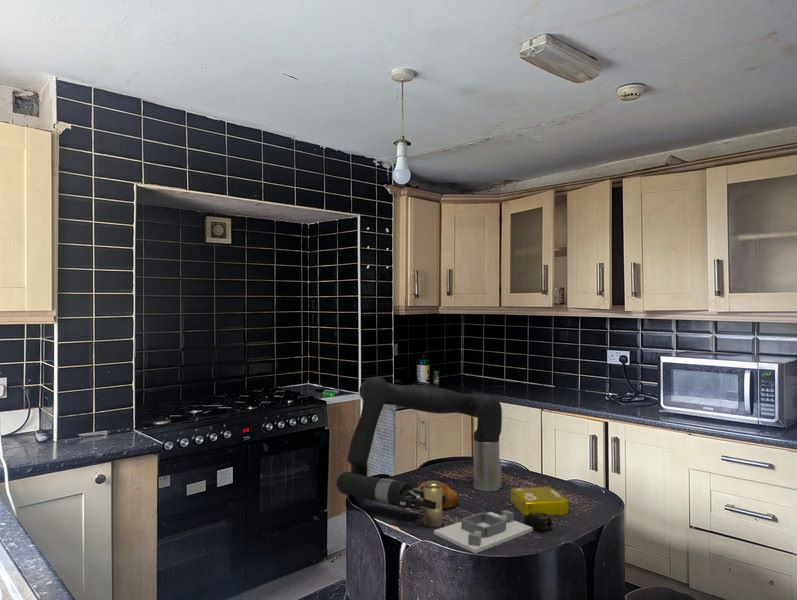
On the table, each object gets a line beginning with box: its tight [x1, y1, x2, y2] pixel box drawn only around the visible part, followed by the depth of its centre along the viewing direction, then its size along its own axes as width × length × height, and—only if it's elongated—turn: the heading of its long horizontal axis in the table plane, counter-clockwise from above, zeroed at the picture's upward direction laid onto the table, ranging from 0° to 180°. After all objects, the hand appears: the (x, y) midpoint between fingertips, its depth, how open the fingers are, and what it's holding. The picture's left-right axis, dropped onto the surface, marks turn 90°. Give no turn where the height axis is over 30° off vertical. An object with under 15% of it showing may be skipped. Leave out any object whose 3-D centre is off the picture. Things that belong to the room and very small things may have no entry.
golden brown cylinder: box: [423, 480, 443, 528], centre depth 160 cm, size 6×6×12 cm
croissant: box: [415, 481, 458, 509], centre depth 178 cm, size 15×16×8 cm
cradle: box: [433, 509, 534, 554], centre depth 153 cm, size 24×16×4 cm, turn 128°
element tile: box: [510, 486, 569, 516], centre depth 174 cm, size 15×15×5 cm
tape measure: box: [523, 512, 552, 532], centre depth 157 cm, size 7×7×4 cm
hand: (440, 502), depth 159 cm, fingers closed on golden brown cylinder, 5 cm apart
